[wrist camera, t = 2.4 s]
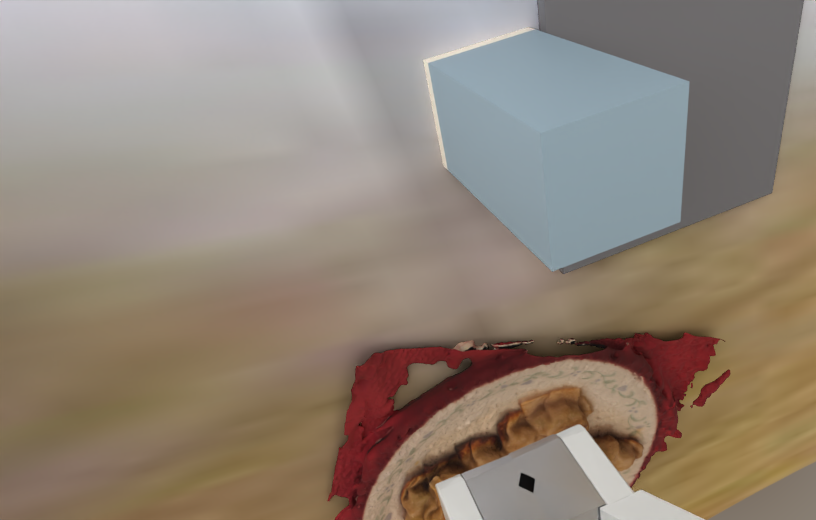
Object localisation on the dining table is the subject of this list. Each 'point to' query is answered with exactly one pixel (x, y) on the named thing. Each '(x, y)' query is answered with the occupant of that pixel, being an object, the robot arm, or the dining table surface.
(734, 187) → the charcoal mat
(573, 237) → the slate block
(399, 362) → the plate with food
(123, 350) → the dining table surface
